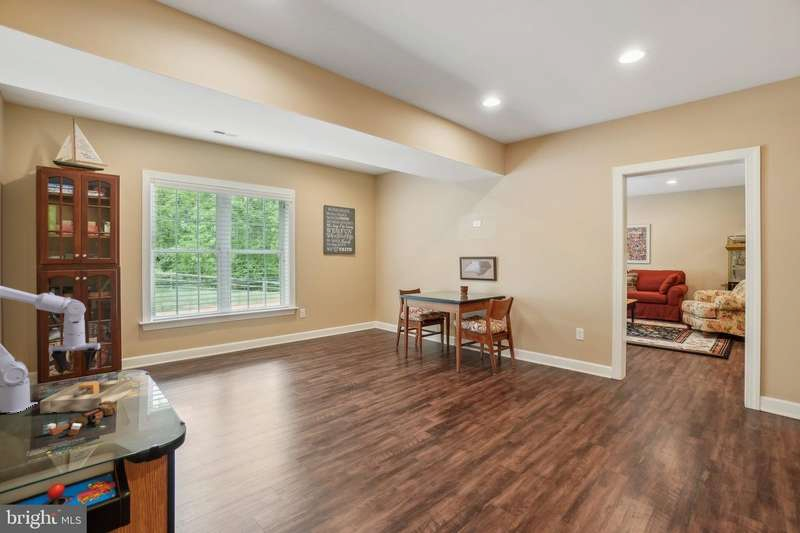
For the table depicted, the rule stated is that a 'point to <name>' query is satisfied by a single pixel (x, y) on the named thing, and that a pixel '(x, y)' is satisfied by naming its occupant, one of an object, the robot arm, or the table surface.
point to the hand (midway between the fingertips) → (75, 370)
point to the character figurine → (85, 418)
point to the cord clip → (92, 385)
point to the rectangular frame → (85, 397)
